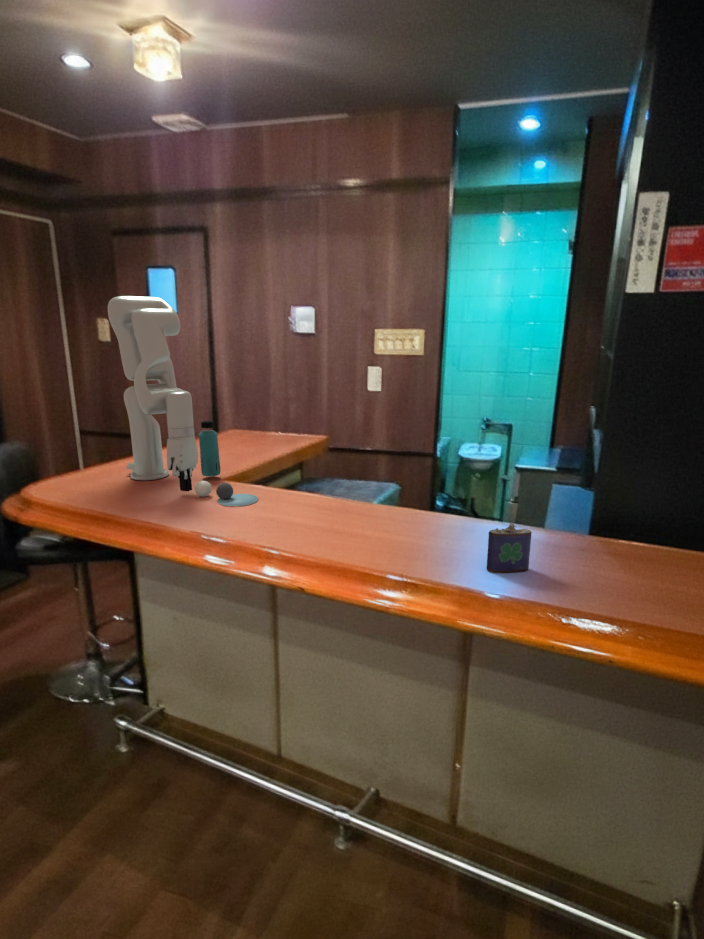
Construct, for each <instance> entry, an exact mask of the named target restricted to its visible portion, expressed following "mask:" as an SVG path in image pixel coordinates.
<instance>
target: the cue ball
mask: <svg viewBox="0 0 704 939" xmlns="http://www.w3.org/2000/svg"><path fill="white" fill-rule="evenodd" d="M212 490H213V488H212V485H211V483H210V482H209V481H207V480H200V481H198V482H197V483H196V484H195V486H194V492H195V493H196V495H197V496H199V497H202V498H204V497H208V496H209V495H210V494H211V493H212Z"/></svg>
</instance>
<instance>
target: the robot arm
mask: <svg viewBox="0 0 704 939" xmlns="http://www.w3.org/2000/svg"><path fill="white" fill-rule="evenodd" d="M107 314H108V320H109V323H110V325H111V326H110V327H111V328H112V329H113V332H114V334H115V337H116V338H117V341H118V347H119V352H120V358H121V364H122V367H123V372H124V375H125V377H126V379H127V380H129V381H133V385H132V386H129V387H127V388H126V389H125V391H124V392H123V402H124V406H125V409H126V412H127V416H128V417H127V418H128V421H129V422H128V423H129V430H130V438H131V446H132V447H131V448H132V456H133V457H132V458H133V462H128V463H127V465H126V467H125V468H126V469H127V470H131V471H132V472H131V473H130V479H131V480H136V481H153V480H154V481H155V480H158V479H163V478H165V477H168V476H169V475H170V471H172V473H171V475H172V476H173V477H177V479H178V480H179V488H180V491H181V492H190V491H192V490H193V488H192V487H193V485H192V477H193V472H194V470H195V469H196V468H197V465H198V463H199V453H198V446H197V441H196V440H197V439H196V436H195V434H196V433H195V424H194V410H193V408H194V407H193V398H192V394H191V392H189V391H187V390H183V389H182V388H179V387H177V381H176V377H175V376H176V375H175V369H174V364H173V362H172V359H171V357H170V356H171V352H170V349H169V345H168V342H167V339H166V338H167V337H173V336H177V335H178V334H180V331H181V320H180V318H179V315H178V313H177V312H176V310H175V309H174V308H173V306H171V305H169V303H167V301H165V300H164V299H162V298H161V297H157V296H138V295H137V296H136V295H119V296H114V297H112V298H111V299H110V300H109V301H108V303H107ZM147 381H157V382H158V383H152V384H151V383H149V384H147ZM159 414H160V415H161V414H166V423H167V433H168V438H167V440H166V441H167V442H166V465H167V469H166V468H164V456H163V445H162V444H163V443H162V435H161V427H160V426H161V425H160V423H159V422H158V421H157V419H156V418H155V417H154V416H153V415H159Z"/></svg>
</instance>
